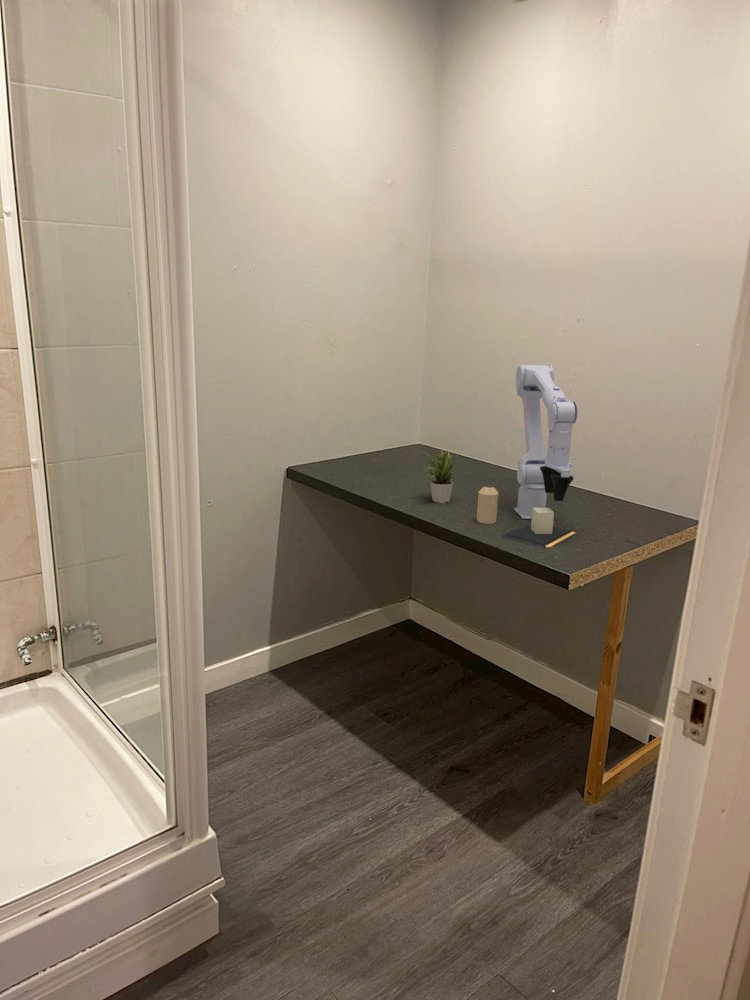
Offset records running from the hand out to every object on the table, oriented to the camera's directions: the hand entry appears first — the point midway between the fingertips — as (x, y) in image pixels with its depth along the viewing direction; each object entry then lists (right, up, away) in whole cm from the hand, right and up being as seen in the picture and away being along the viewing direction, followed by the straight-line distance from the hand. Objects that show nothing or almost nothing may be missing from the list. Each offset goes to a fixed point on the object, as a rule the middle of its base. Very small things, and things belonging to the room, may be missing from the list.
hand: (553, 496), depth 192 cm
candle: (-16, -7, +12) cm, 21 cm away
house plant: (-28, -1, +31) cm, 42 cm away
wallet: (-3, -11, +2) cm, 12 cm away
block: (-3, -9, +1) cm, 10 cm away
